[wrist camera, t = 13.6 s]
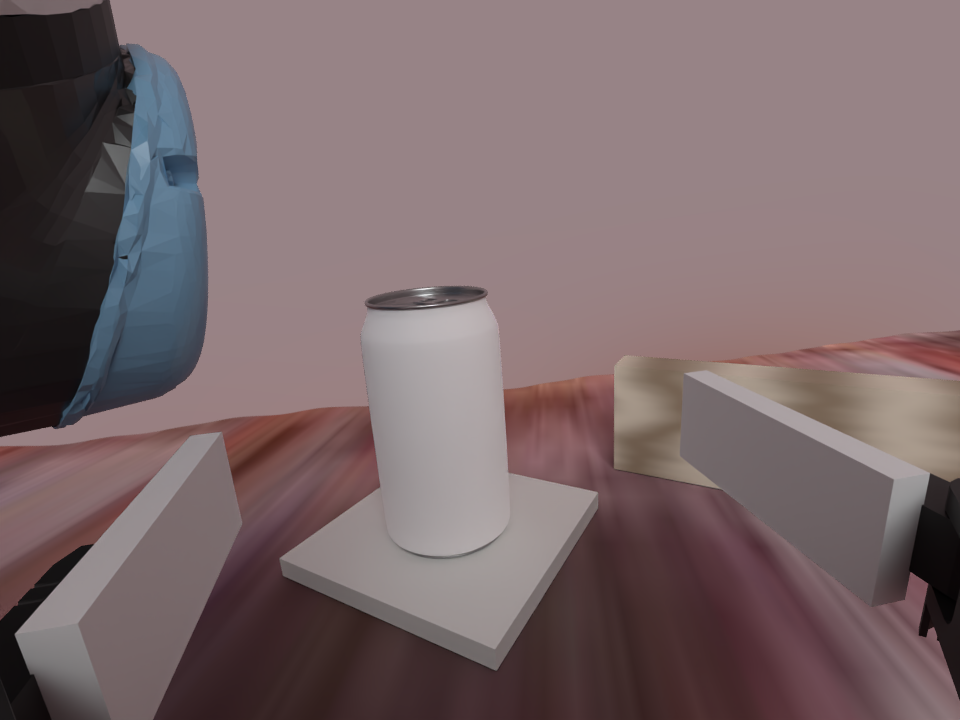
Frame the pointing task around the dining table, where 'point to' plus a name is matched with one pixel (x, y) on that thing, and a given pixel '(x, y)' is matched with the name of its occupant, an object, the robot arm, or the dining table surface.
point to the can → (437, 418)
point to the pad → (449, 569)
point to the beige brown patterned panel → (814, 393)
